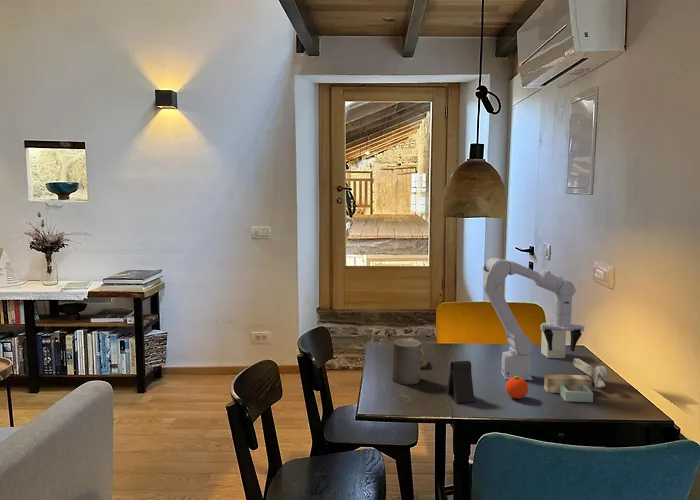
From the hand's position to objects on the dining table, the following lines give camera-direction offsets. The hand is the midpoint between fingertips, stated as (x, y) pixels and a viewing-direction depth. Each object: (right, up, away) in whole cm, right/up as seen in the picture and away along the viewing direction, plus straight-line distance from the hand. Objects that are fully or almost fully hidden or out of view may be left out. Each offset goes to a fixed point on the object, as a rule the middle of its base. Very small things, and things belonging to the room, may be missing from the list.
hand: (561, 350), depth 193 cm
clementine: (-22, -12, -19) cm, 31 cm away
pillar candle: (-56, -10, -3) cm, 57 cm away
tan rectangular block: (-3, -11, -13) cm, 18 cm away
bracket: (-3, -12, -18) cm, 22 cm away
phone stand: (-40, -12, -19) cm, 46 cm away
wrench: (+9, -10, -1) cm, 14 cm away
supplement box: (+6, -7, +25) cm, 26 cm away
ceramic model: (-52, -8, +16) cm, 55 cm away
